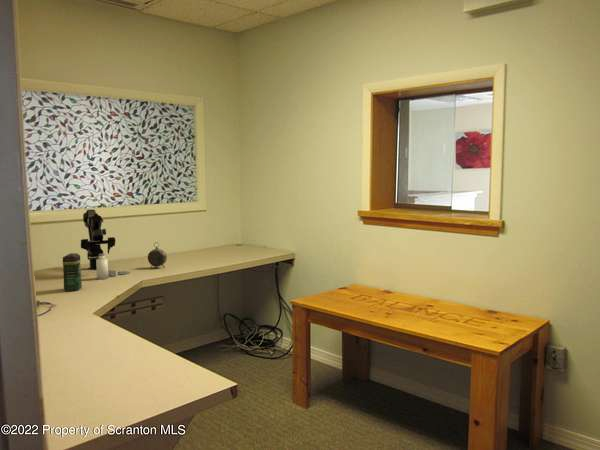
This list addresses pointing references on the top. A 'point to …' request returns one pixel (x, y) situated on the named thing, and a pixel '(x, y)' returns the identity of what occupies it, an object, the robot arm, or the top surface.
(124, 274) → the mat
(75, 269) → the coffee jar
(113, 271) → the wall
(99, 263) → the bottle
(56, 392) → the top surface
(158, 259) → the alarm clock
